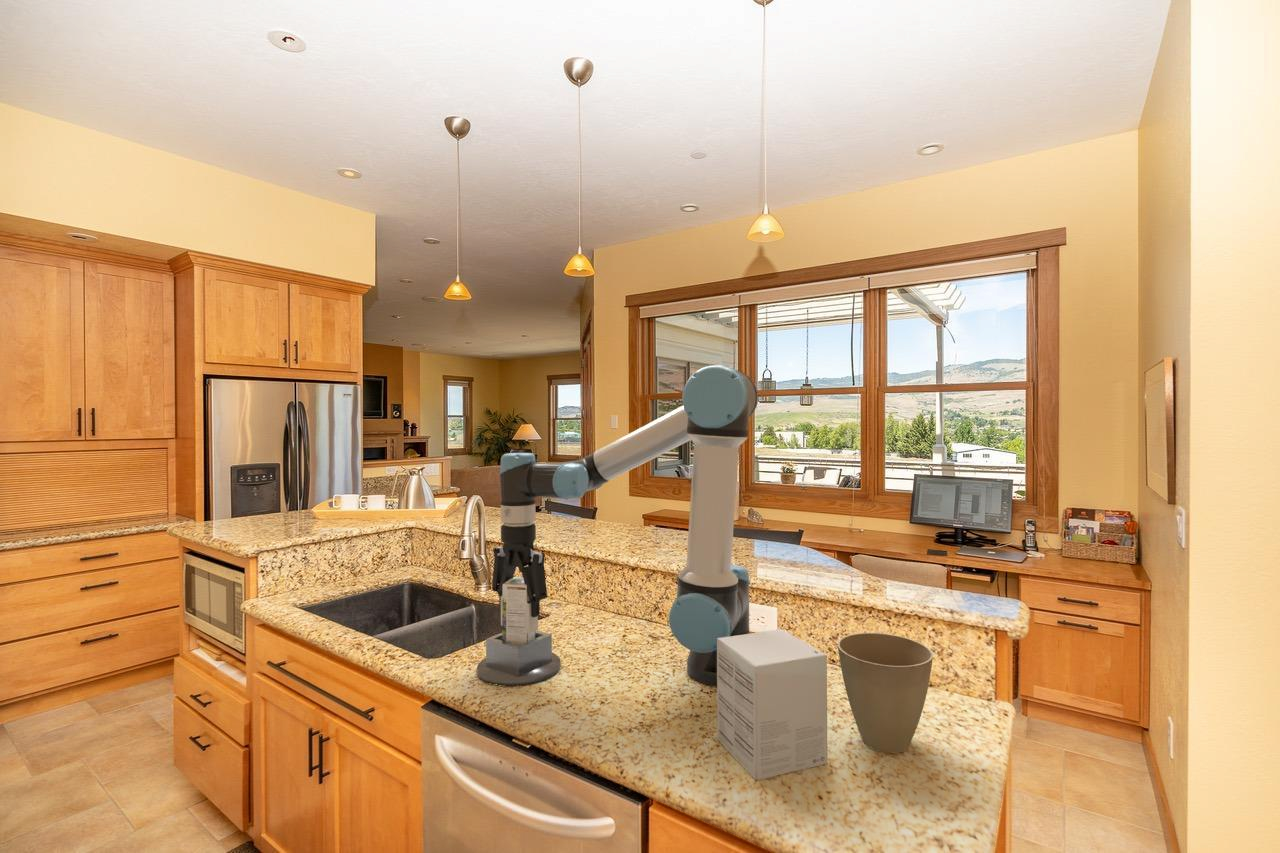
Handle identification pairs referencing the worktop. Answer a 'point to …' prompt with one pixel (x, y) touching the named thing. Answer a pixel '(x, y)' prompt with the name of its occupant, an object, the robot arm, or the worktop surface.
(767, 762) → the supplement box
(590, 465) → the robot arm
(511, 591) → the syrup box
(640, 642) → the worktop surface
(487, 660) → the duct collar
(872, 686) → the plant pot
